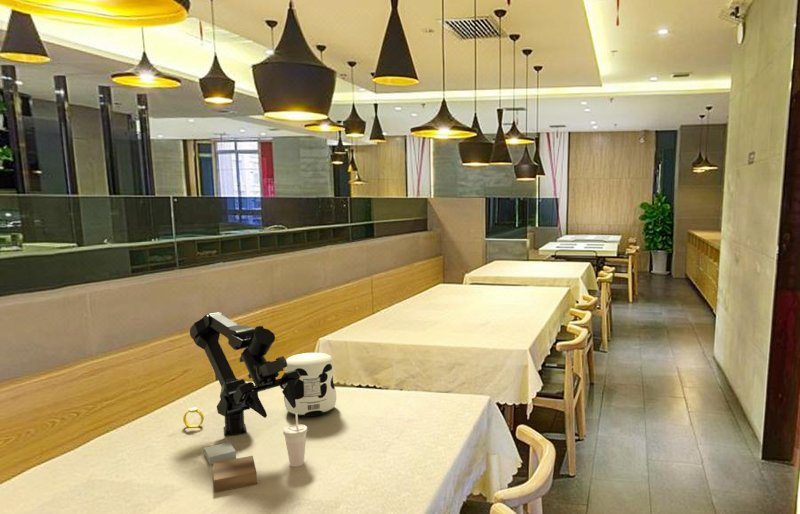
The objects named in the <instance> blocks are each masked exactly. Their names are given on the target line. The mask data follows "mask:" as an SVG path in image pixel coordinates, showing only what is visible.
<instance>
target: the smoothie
mask: <svg viewBox="0 0 800 514" xmlns="http://www.w3.org/2000/svg"><path fill="white" fill-rule="evenodd" d="M295 414H296V415H295V423H294V424H290V425H287V426H285V427H284V428H283V432H282V434H283V436H284V438H285V439H284V440H285V445H286V451H287V456H288V462H289V466H290V467H292V468H297V467H302V466H303V465H304V464H305V453H306V443H307V442H306V441H307V440H306V439H307V433H308V426H307V425H305V424H301V423H299V416H298V413H297V412H296V413H295Z"/></svg>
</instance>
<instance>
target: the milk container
mask: <svg viewBox="0 0 800 514" xmlns="http://www.w3.org/2000/svg"><path fill="white" fill-rule="evenodd" d="M285 359H286V361H287V367H285V372H289V371H293V370H296V371H298V373H299V374H300V376H301V377H300V378H299V380H298V381H297V383H296V384H295V386H294V394H295V402H296V407H295V408H293V407H292V406H291V405H290V403H289V402H288V400H287V399H286V397H285V396H284V395H283V396H284V397H283V399H284V400H283V401H284V407H285V409H286V411H287V412H288V413H290V414H291V415H294V416H296V414H295V413H296V412H297V413H298V417H315V416H321V415H323V414H326V413H328V412H330V411H332V410H333V409H334V408H335V406H336V405H337V404H336V403H337V390H336V387H335V383H334V375H333V374H334V369H333V359H332V355H330V354H328V353H324V352H305V353H299V354H294V355H291V356H288V358H285Z"/></svg>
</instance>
